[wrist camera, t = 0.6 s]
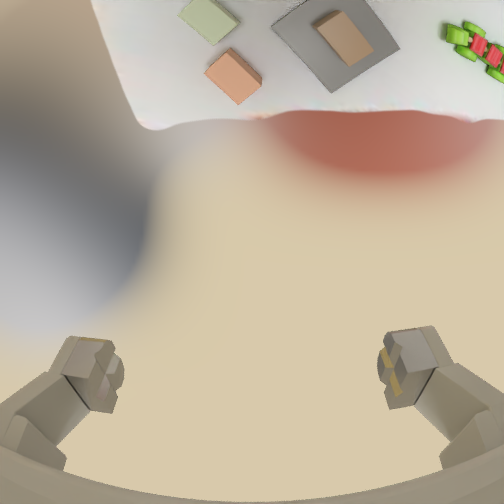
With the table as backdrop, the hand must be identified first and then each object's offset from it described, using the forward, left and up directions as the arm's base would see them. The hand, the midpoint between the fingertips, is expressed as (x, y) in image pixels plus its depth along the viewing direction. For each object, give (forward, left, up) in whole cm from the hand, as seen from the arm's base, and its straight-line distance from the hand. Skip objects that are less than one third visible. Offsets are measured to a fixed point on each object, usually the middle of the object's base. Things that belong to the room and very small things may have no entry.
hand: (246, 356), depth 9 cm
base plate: (-11, +4, -45) cm, 47 cm away
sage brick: (+1, -10, -45) cm, 46 cm away
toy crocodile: (-33, +19, -46) cm, 59 cm away
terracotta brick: (+5, -1, -45) cm, 46 cm away
